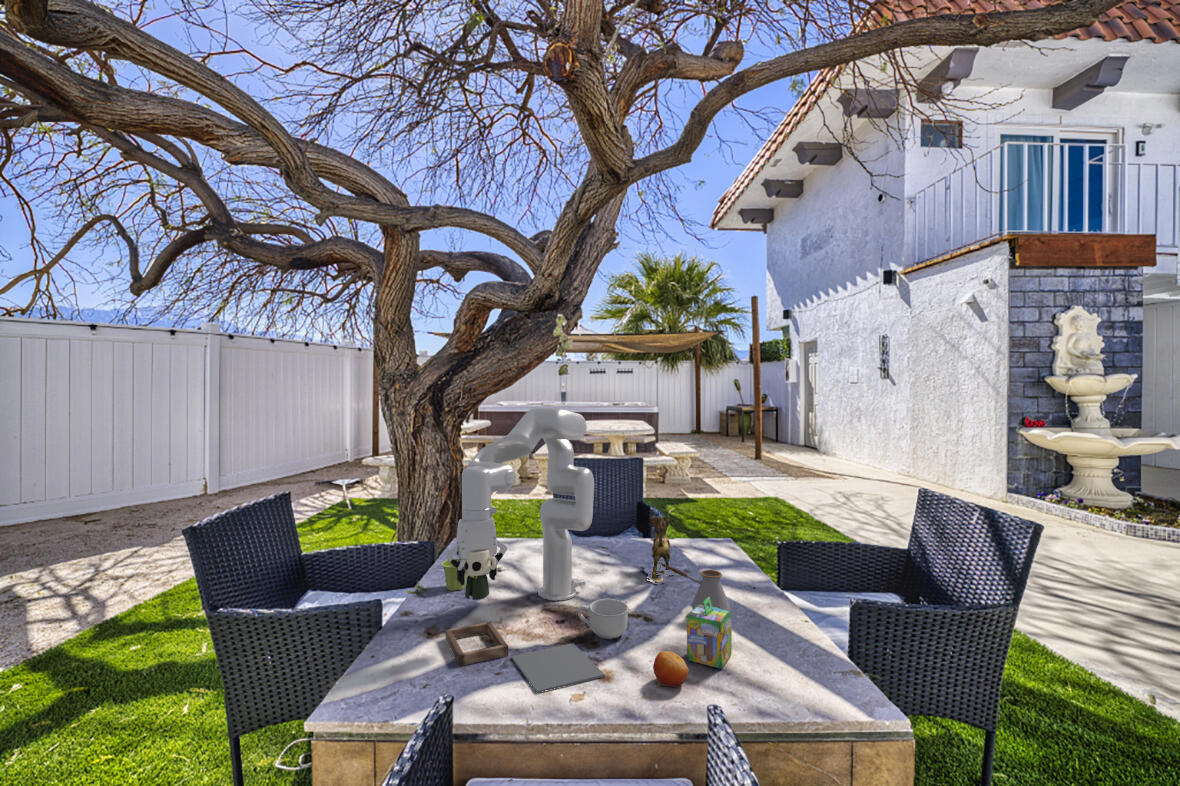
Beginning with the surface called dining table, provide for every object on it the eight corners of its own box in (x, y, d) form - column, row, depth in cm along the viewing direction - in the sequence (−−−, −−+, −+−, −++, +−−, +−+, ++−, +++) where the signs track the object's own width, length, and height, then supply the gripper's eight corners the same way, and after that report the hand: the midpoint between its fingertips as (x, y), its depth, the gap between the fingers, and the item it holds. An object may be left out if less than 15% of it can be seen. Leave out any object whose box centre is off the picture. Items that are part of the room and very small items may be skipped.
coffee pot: (729, 610, 173) (729, 561, 173) (731, 625, 162) (731, 573, 162) (660, 604, 177) (660, 557, 177) (657, 619, 166) (657, 568, 166)
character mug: (451, 599, 146) (451, 550, 146) (466, 590, 153) (466, 542, 152) (488, 605, 142) (488, 554, 142) (502, 595, 149) (502, 546, 149)
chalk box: (721, 670, 136) (721, 609, 136) (685, 660, 141) (686, 601, 141) (733, 655, 144) (733, 597, 144) (699, 646, 149) (699, 590, 148)
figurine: (675, 564, 218) (676, 512, 218) (674, 586, 194) (675, 527, 193) (642, 562, 220) (642, 510, 220) (637, 584, 196) (637, 526, 196)
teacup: (632, 629, 159) (632, 601, 159) (621, 646, 148) (622, 615, 148) (586, 622, 163) (586, 595, 163) (572, 638, 153) (572, 608, 153)
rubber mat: (573, 645, 149) (573, 643, 149) (604, 676, 132) (604, 674, 132) (511, 658, 141) (511, 656, 141) (536, 693, 125) (536, 691, 125)
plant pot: (435, 590, 188) (435, 564, 188) (452, 581, 197) (452, 557, 197) (459, 594, 185) (459, 568, 185) (475, 585, 193) (475, 560, 193)
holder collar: (490, 630, 157) (490, 621, 157) (508, 655, 143) (508, 645, 143) (445, 638, 152) (445, 629, 152) (459, 666, 137) (459, 655, 137)
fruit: (642, 669, 133) (659, 639, 134) (670, 685, 134) (687, 656, 134) (648, 687, 125) (667, 656, 126) (678, 704, 126) (696, 673, 126)
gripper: (504, 508, 154) (504, 571, 155) (440, 514, 147) (440, 581, 147) (513, 513, 147) (513, 580, 148) (446, 521, 140) (446, 591, 140)
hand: (477, 580), depth 147 cm, fingers closed on character mug, 7 cm apart
